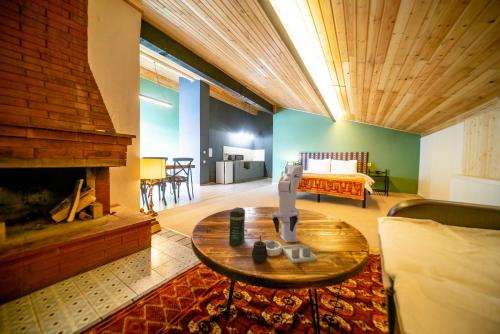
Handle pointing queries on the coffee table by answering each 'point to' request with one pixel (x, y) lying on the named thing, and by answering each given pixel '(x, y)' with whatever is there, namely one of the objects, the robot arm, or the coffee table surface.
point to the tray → (288, 253)
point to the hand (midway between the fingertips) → (284, 231)
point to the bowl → (276, 250)
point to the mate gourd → (259, 252)
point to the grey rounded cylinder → (270, 244)
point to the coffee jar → (237, 226)
